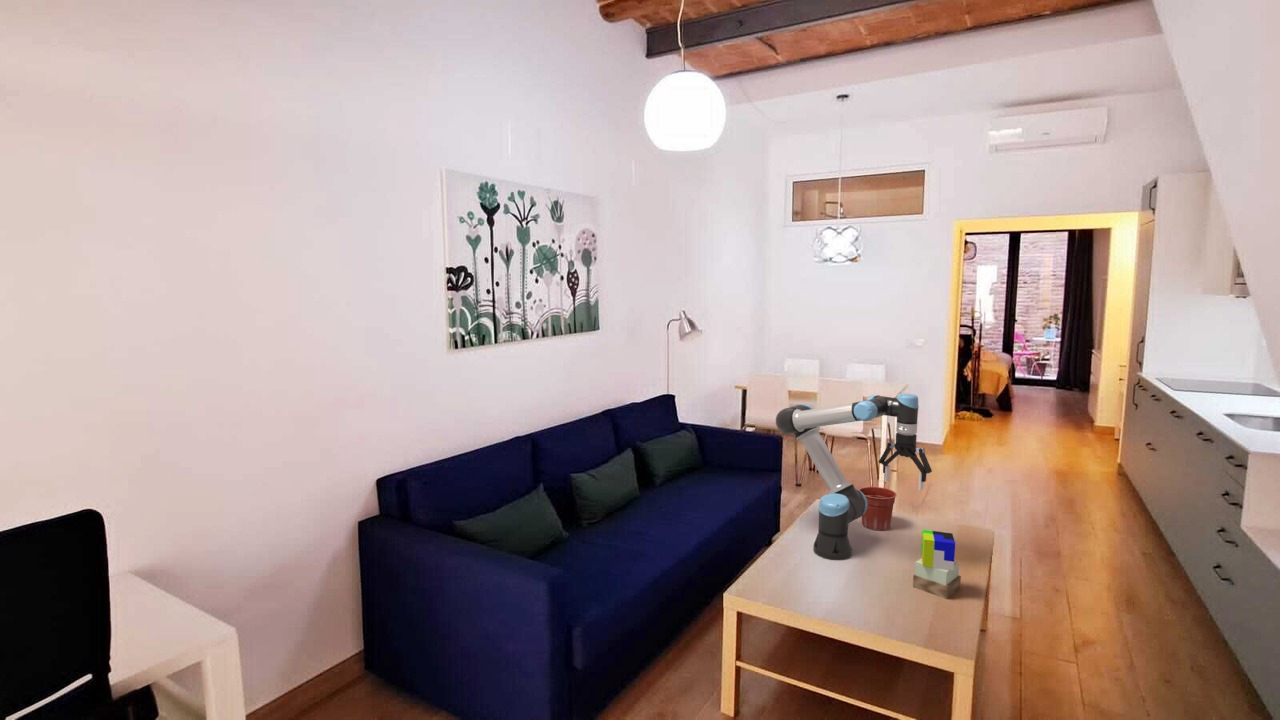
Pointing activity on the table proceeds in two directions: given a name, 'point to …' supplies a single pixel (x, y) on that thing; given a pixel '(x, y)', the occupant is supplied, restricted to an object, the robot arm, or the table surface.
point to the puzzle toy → (938, 550)
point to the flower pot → (878, 507)
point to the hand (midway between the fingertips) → (903, 485)
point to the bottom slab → (937, 586)
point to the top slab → (936, 573)
